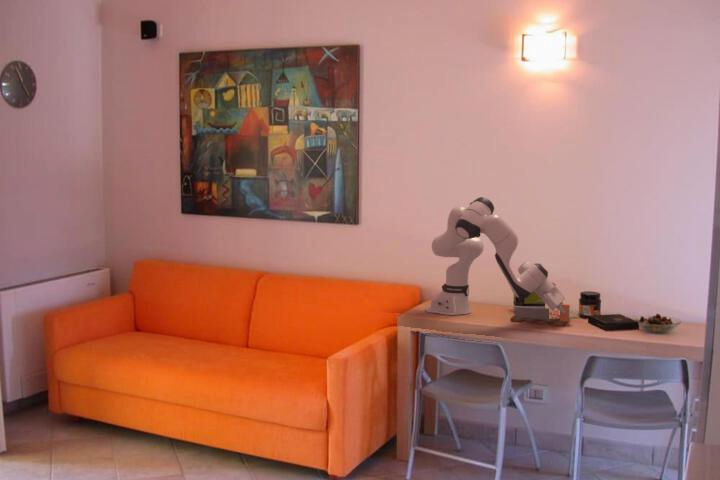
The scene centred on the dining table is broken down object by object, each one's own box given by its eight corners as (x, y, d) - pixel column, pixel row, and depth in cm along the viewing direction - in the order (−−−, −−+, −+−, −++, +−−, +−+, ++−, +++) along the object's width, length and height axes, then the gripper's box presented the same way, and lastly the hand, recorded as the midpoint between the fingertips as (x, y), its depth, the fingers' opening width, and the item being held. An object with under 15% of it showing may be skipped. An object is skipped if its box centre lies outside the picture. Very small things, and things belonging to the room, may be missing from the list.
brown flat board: (510, 321, 374) (510, 318, 373) (515, 317, 383) (515, 313, 382) (565, 326, 363) (565, 323, 362) (569, 322, 372) (569, 318, 371)
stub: (559, 320, 367) (560, 304, 366) (560, 319, 370) (561, 303, 369) (568, 321, 366) (568, 305, 365) (569, 320, 368) (569, 304, 367)
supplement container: (584, 319, 377) (585, 295, 375) (574, 315, 387) (575, 291, 386) (604, 318, 379) (605, 294, 378) (593, 314, 389) (594, 290, 388)
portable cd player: (639, 330, 358) (639, 321, 357) (605, 331, 355) (605, 323, 354) (620, 322, 374) (620, 314, 373) (587, 323, 371) (588, 315, 370)
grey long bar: (514, 316, 376) (514, 306, 376) (515, 315, 379) (516, 305, 378) (547, 320, 370) (548, 309, 369) (548, 318, 372) (549, 308, 371)
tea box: (542, 309, 400) (543, 281, 398) (545, 313, 390) (546, 284, 388) (512, 309, 401) (513, 280, 400) (514, 313, 391) (515, 284, 390)
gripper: (546, 289, 359) (566, 312, 356) (554, 282, 378) (574, 303, 375) (536, 298, 362) (556, 320, 359) (545, 290, 380) (564, 312, 377)
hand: (565, 312), depth 367 cm, fingers closed on stub, 2 cm apart
